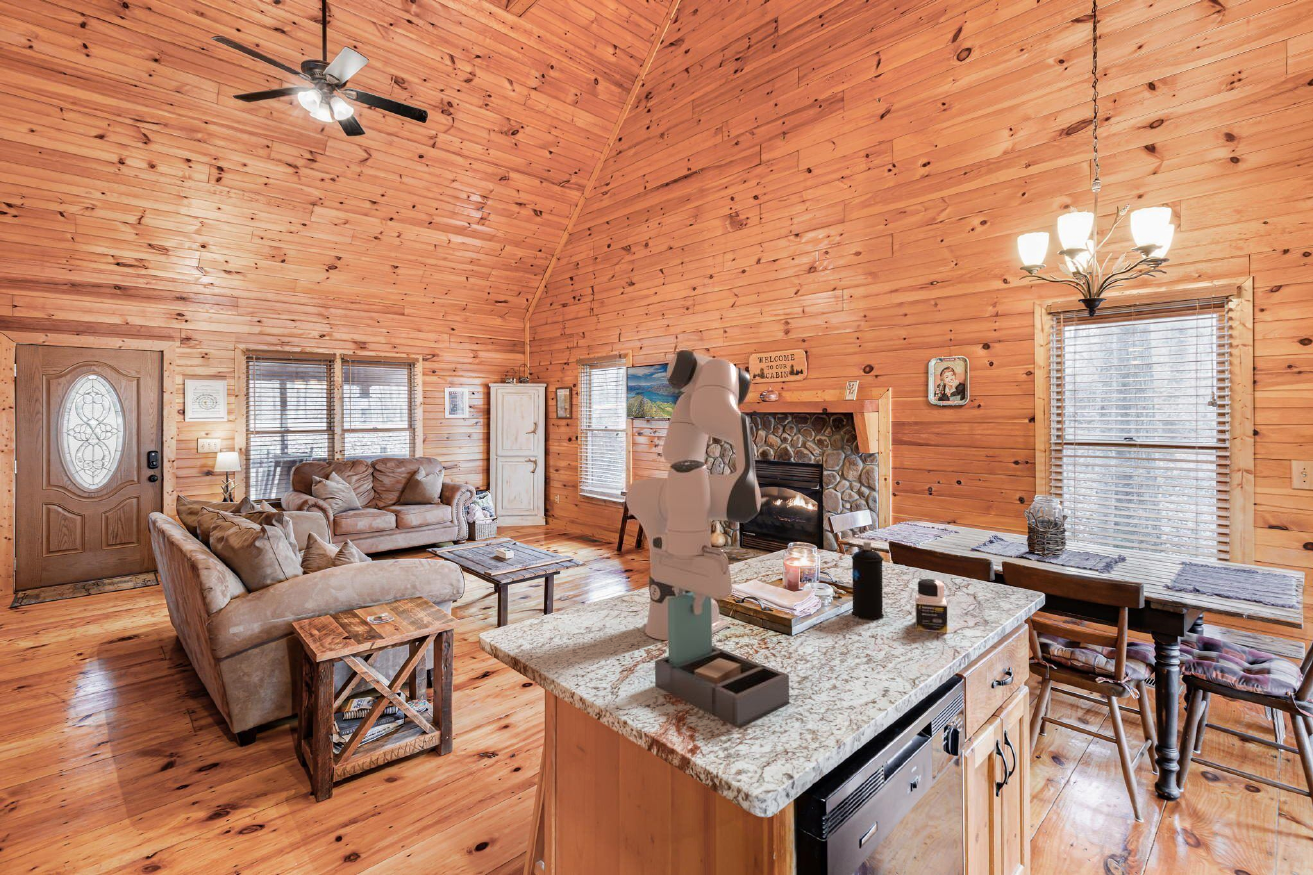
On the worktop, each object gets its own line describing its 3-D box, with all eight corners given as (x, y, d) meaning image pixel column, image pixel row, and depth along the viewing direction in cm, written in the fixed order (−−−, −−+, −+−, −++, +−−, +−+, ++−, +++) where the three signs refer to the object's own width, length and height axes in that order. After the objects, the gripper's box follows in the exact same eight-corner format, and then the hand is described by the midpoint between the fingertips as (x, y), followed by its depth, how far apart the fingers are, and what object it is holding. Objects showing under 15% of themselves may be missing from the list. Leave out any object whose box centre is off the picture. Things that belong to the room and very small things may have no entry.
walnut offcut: (719, 670, 118) (719, 657, 118) (740, 677, 115) (740, 664, 115) (694, 683, 112) (694, 670, 112) (716, 691, 109) (715, 677, 109)
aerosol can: (886, 613, 165) (886, 541, 164) (879, 621, 158) (879, 546, 157) (855, 608, 169) (855, 538, 169) (848, 616, 162) (847, 543, 162)
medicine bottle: (916, 630, 151) (915, 582, 151) (915, 621, 158) (915, 576, 158) (947, 633, 148) (947, 585, 148) (945, 624, 155) (945, 578, 155)
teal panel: (705, 665, 124) (704, 588, 123) (712, 668, 122) (711, 590, 122) (669, 679, 118) (667, 598, 117) (675, 682, 116) (674, 600, 115)
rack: (706, 673, 126) (705, 643, 126) (791, 710, 109) (791, 675, 109) (655, 693, 117) (655, 660, 117) (739, 737, 100) (739, 698, 100)
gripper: (738, 548, 113) (739, 620, 114) (667, 533, 129) (668, 597, 129) (715, 553, 109) (716, 628, 110) (644, 537, 125) (646, 603, 125)
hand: (690, 611), depth 120 cm, fingers closed on teal panel, 2 cm apart
